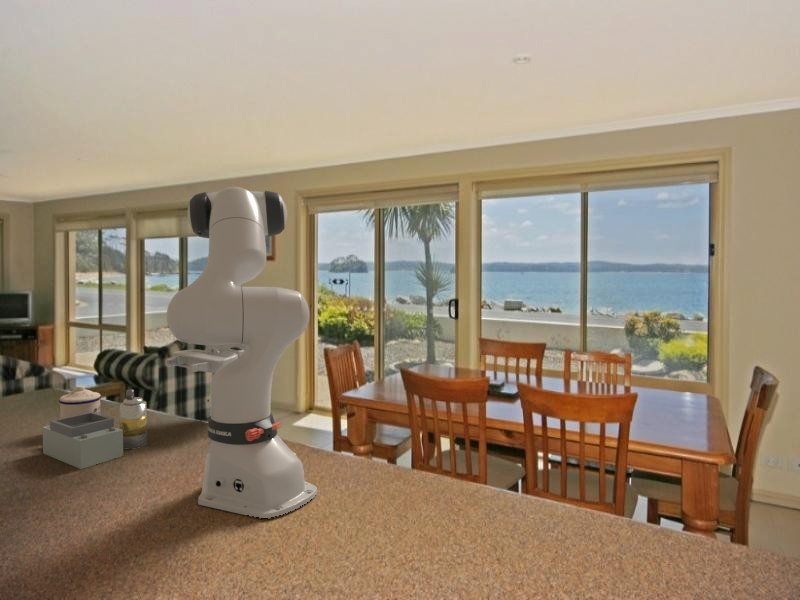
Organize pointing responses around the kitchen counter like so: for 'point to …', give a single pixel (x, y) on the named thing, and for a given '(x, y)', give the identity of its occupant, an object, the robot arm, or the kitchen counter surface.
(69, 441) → the block
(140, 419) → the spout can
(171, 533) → the kitchen counter surface
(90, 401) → the teacup with lid
